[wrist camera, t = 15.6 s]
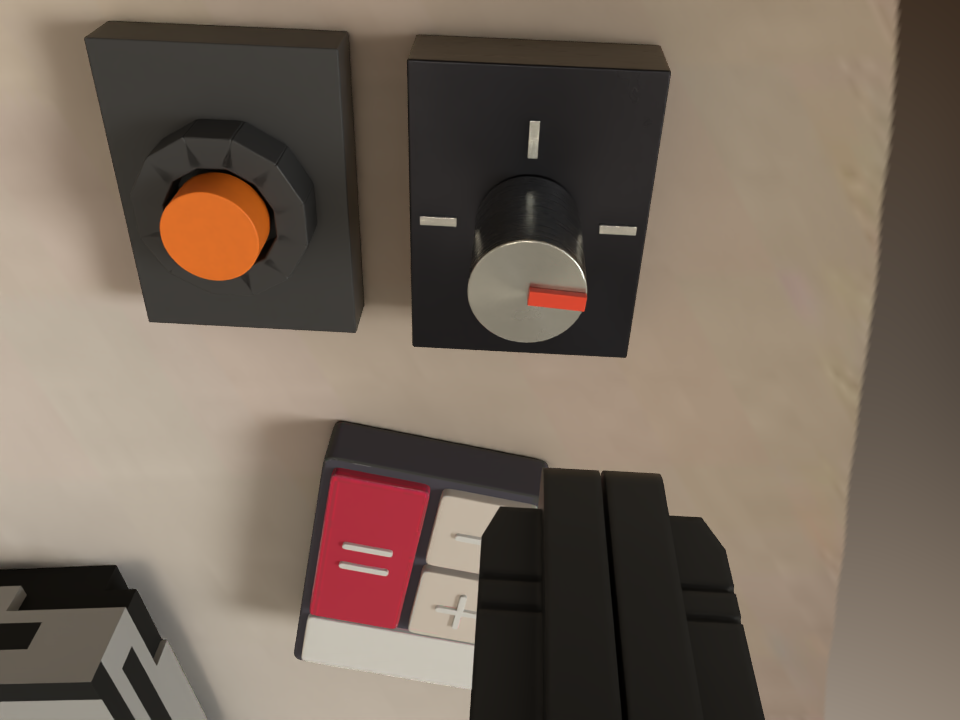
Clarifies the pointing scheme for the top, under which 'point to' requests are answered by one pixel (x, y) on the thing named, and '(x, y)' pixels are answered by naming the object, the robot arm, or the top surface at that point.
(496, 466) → the calculator
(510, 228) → the dial
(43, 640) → the game console
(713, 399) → the top surface
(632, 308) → the dial panel
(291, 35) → the button block
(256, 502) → the top surface
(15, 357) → the top surface
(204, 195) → the button
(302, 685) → the top surface
